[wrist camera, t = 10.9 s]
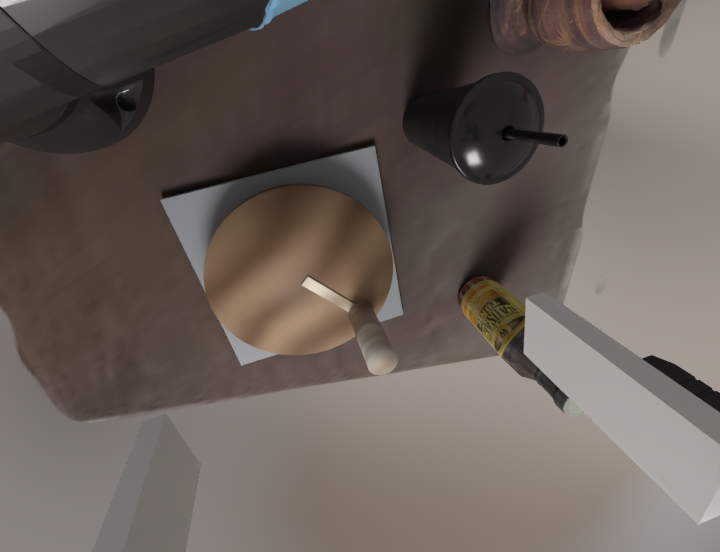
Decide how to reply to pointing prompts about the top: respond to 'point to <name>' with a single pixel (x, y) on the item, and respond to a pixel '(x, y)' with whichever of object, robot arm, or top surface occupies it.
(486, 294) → the sauce bottle
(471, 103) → the drinking cup
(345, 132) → the top surface
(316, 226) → the handwheel
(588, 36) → the mortar and pestle
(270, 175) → the wheel stand
